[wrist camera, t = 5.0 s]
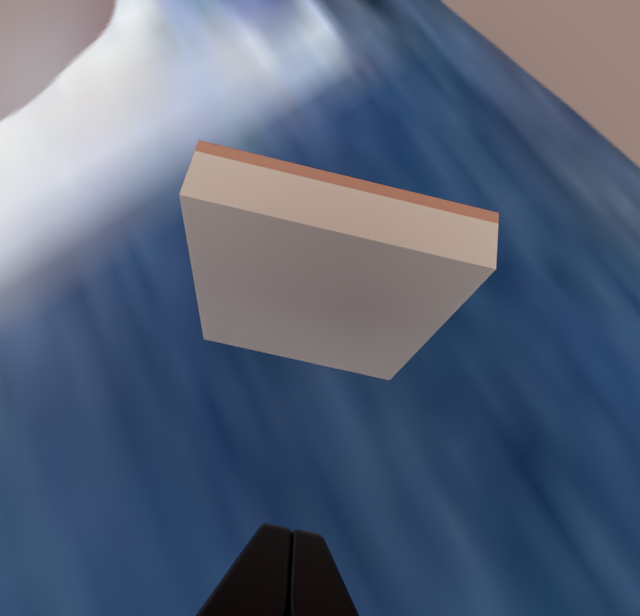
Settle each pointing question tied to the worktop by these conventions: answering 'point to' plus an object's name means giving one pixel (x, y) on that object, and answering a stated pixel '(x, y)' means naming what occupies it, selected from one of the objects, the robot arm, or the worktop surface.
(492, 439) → the worktop surface
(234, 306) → the tile
